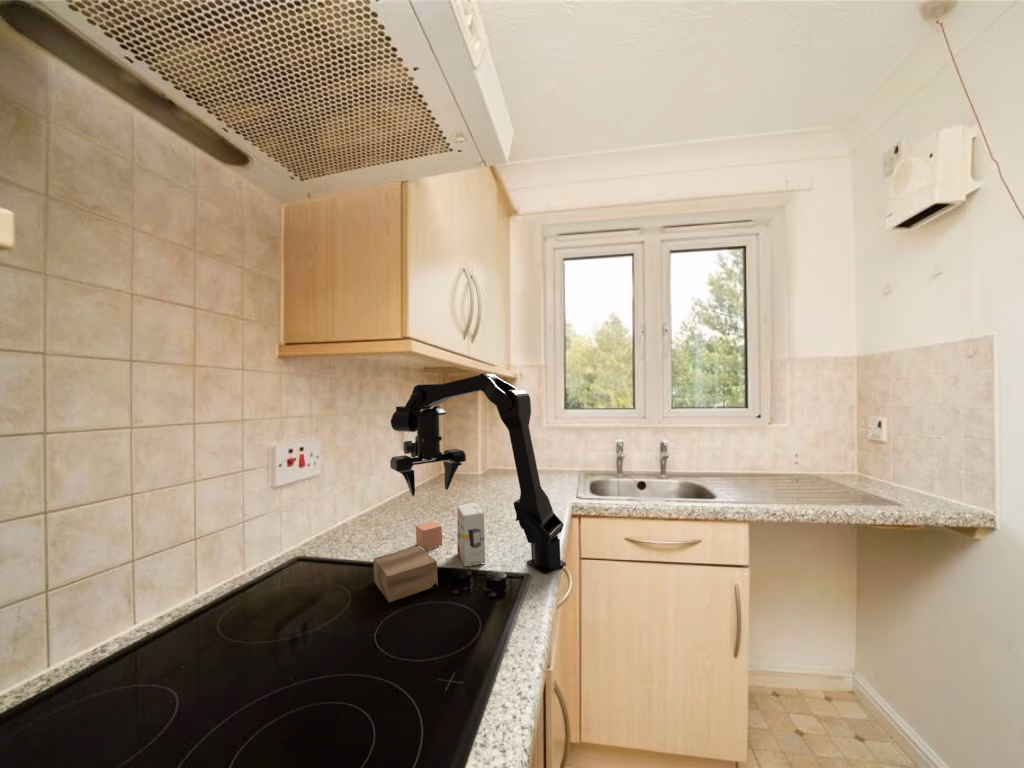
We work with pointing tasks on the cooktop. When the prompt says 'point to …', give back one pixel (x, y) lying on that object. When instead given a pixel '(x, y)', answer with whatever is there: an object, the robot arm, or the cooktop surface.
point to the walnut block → (405, 573)
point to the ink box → (471, 534)
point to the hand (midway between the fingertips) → (430, 492)
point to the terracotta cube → (429, 535)
